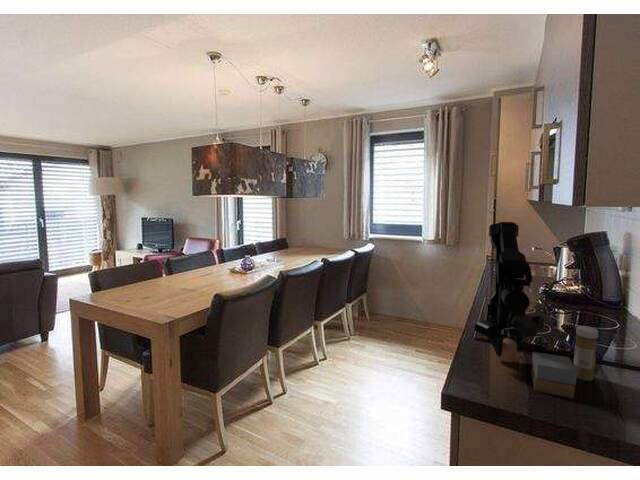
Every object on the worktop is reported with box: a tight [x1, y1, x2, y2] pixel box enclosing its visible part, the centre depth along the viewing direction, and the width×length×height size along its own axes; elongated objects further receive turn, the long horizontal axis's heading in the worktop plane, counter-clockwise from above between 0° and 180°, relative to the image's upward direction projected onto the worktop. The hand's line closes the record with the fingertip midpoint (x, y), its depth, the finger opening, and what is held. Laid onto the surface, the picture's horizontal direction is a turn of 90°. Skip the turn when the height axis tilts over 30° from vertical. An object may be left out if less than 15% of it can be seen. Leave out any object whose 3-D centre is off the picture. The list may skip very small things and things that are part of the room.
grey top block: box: [531, 351, 578, 386], centre depth 88 cm, size 8×8×4 cm
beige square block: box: [530, 366, 576, 400], centre depth 88 cm, size 8×8×4 cm
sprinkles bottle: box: [573, 325, 599, 382], centre depth 92 cm, size 5×5×13 cm
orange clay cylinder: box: [495, 338, 518, 363], centre depth 101 cm, size 5×5×5 cm
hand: (506, 354), depth 101 cm, fingers closed on orange clay cylinder, 5 cm apart
